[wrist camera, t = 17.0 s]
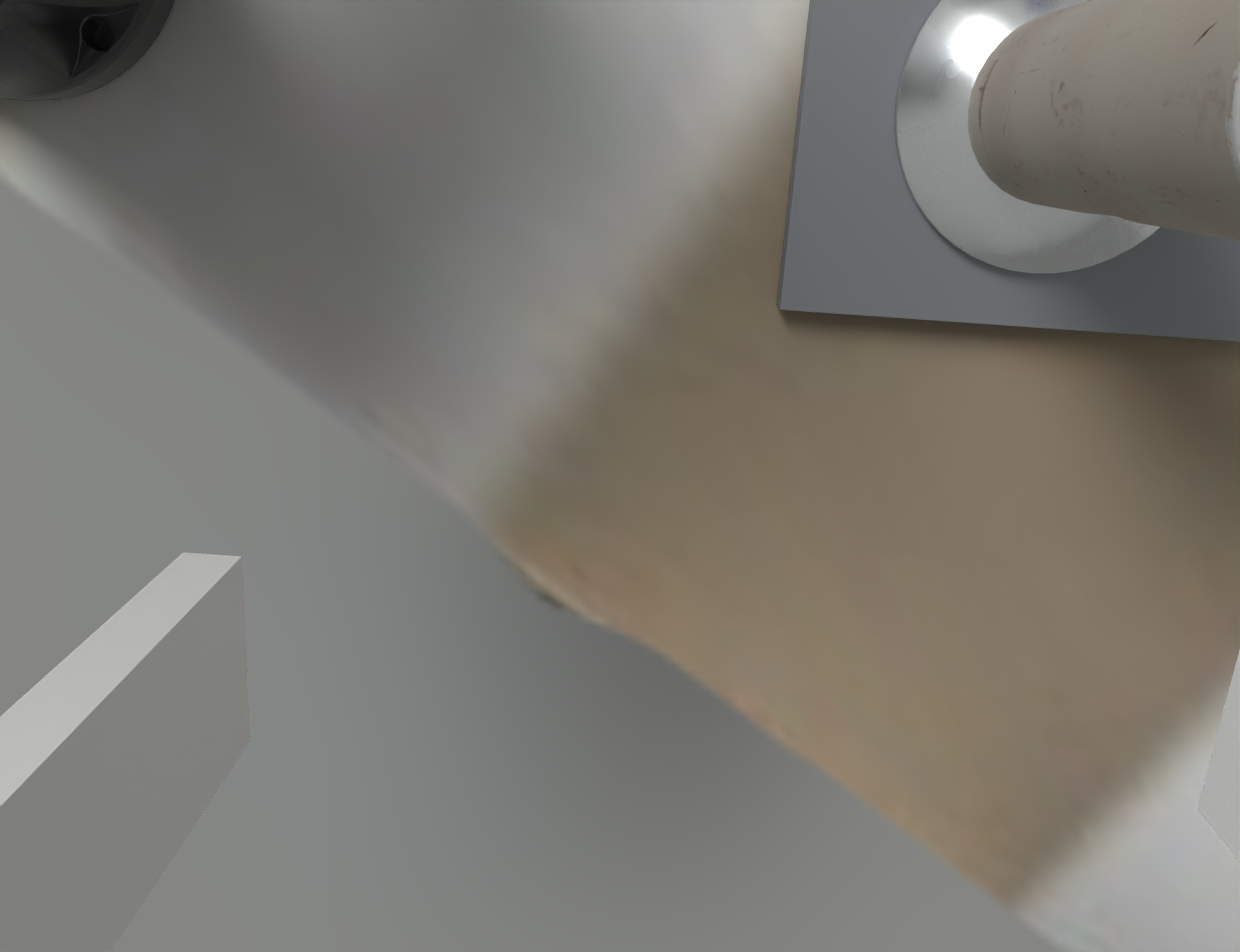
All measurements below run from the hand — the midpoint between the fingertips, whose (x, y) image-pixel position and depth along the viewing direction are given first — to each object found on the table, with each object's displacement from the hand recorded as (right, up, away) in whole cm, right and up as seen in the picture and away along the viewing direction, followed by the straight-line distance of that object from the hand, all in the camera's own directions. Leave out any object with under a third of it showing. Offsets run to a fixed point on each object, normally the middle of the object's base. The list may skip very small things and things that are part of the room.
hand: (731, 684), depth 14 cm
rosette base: (+18, +19, +34) cm, 43 cm away
